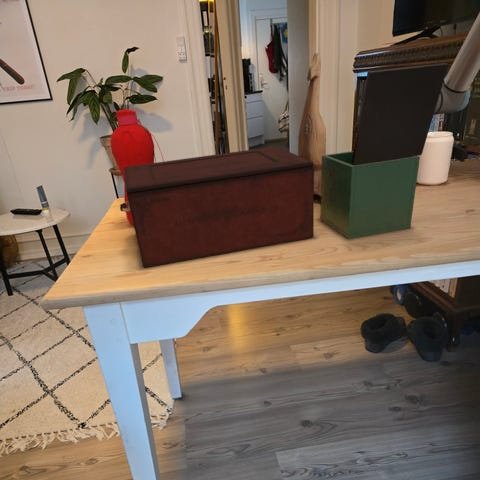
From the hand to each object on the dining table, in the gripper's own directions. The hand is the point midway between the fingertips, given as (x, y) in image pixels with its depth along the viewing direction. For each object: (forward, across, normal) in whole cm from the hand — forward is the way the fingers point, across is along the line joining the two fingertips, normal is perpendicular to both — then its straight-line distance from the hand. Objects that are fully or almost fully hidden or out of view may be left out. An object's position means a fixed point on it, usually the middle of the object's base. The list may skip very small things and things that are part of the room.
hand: (435, 158), depth 105 cm
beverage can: (-2, 0, -7) cm, 7 cm away
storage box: (+32, +52, -7) cm, 62 cm away
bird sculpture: (+6, +32, -7) cm, 33 cm away
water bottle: (+19, +72, -7) cm, 74 cm away
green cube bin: (+29, +22, -6) cm, 37 cm away
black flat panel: (+37, +19, +15) cm, 44 cm away
